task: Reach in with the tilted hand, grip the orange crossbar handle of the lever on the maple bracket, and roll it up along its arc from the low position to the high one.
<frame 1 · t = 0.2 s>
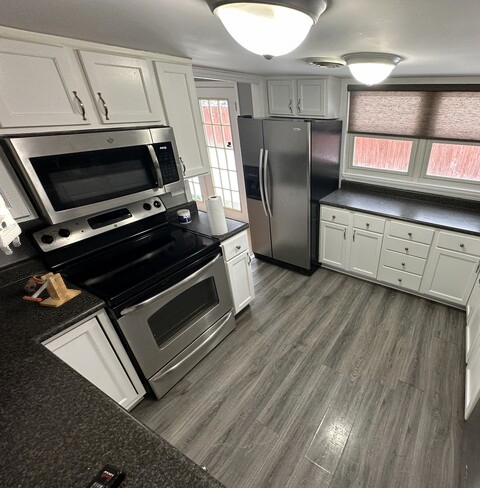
hand: (14, 249, 119), 28 cm above the worktop, tool pointing down, fingers open, 8 cm apart
lever: (42, 287, 123), point 10 cm above the worktop, hinge at -25.0°
bracket: (61, 298, 131), on the worktop
pottery mug: (39, 289, 138), on the worktop
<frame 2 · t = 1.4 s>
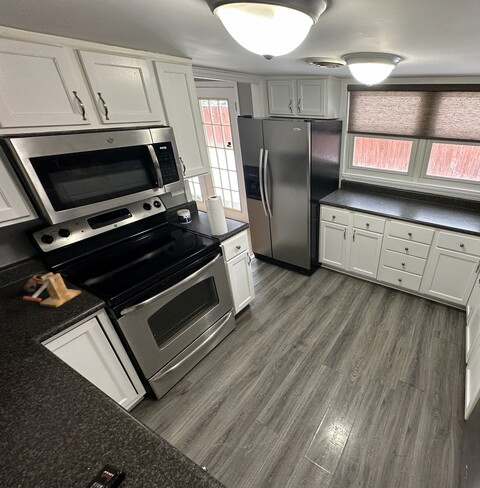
nothing on the worktop moved.
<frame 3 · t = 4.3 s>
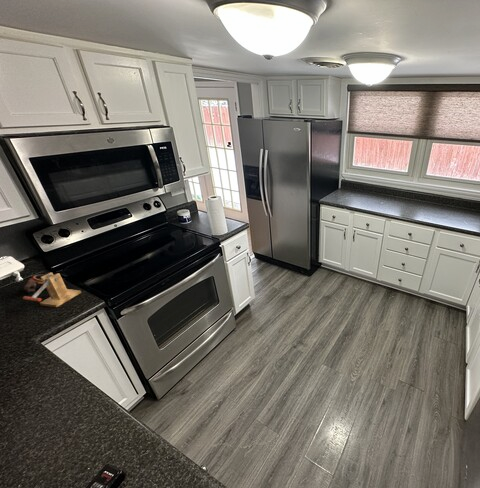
hand: (8, 286, 118), 13 cm above the worktop, tool tilted 45°, fingers open, 8 cm apart
nothing on the worktop moved.
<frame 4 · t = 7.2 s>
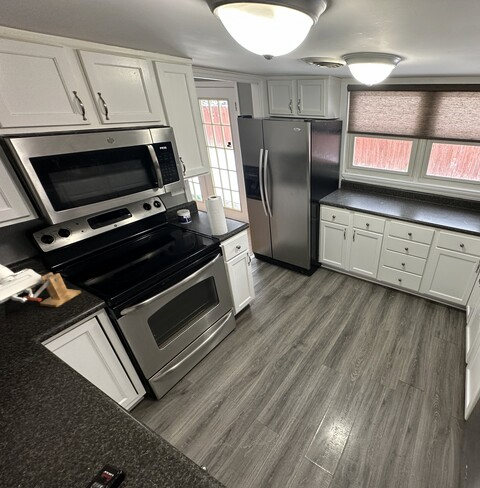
hand: (29, 299, 120), 7 cm above the worktop, tool tilted 45°, fingers closed on lever
lever: (42, 287, 123), point 10 cm above the worktop, hinge at -25.0°, touching gripper
everything else where it was.
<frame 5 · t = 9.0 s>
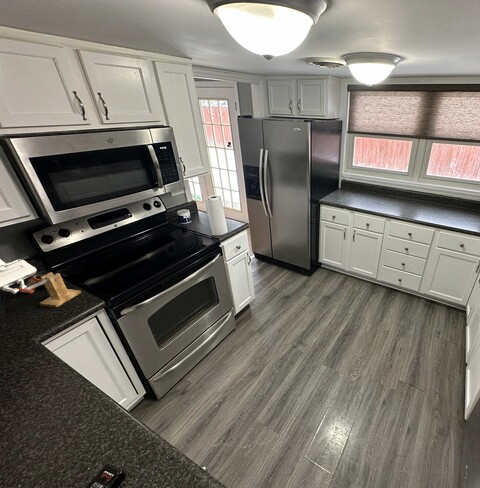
hand: (21, 290, 116), 12 cm above the worktop, tool tilted 45°, fingers closed on lever
lever: (39, 283, 121), point 12 cm above the worktop, hinge at 3.3°, touching gripper
everything else where it was.
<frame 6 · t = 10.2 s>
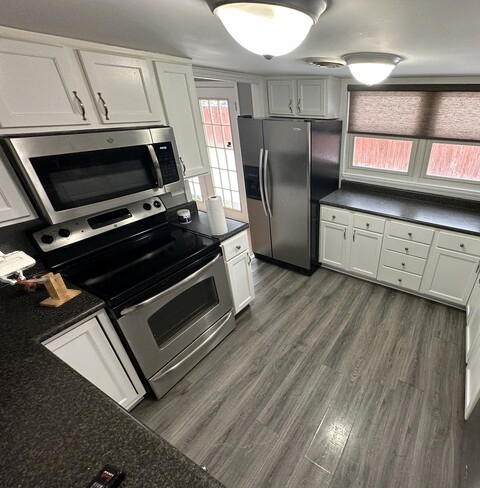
hand: (19, 281, 115), 16 cm above the worktop, tool tilted 45°, fingers closed
lever: (38, 280, 121), point 14 cm above the worktop, hinge at 23.7°, touching gripper
everything else where it was.
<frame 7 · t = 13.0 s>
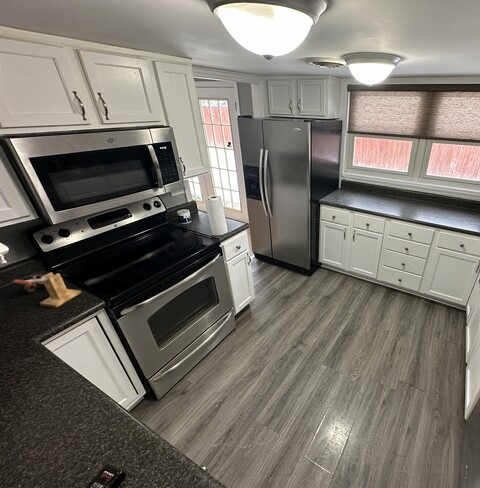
lever: (38, 280, 121), point 14 cm above the worktop, hinge at 24.0°
everything else where it was.
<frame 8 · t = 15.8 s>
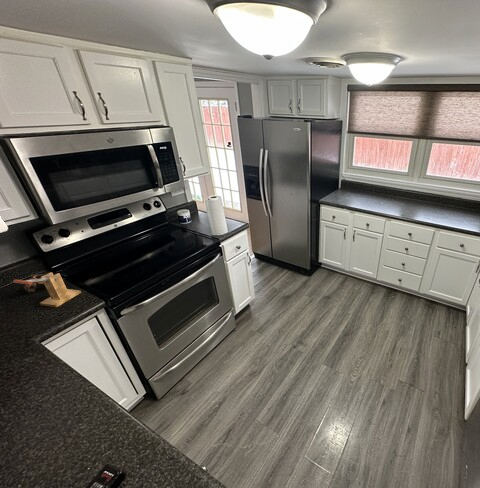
nothing on the worktop moved.
at the end: lever at +24° (first picture: -25°) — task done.
